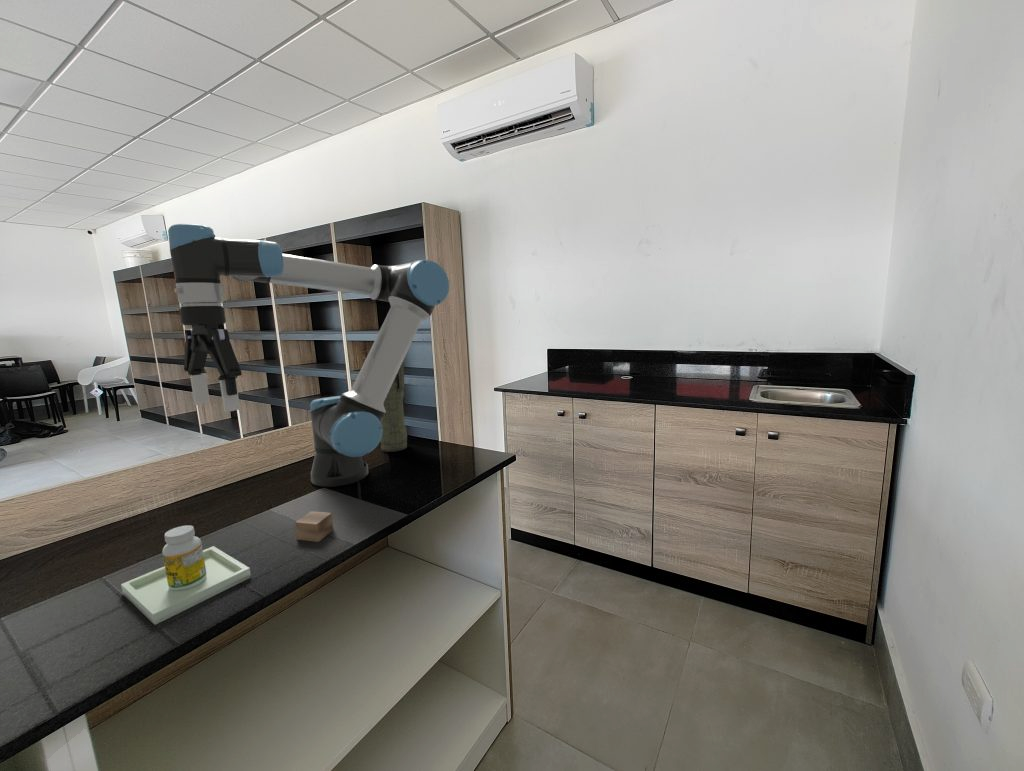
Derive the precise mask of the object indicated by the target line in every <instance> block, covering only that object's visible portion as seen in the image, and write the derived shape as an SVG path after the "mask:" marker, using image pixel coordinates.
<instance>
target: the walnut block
mask: <svg viewBox="0 0 1024 771" xmlns="http://www.w3.org/2000/svg"><path fill="white" fill-rule="evenodd" d="M294 524H295V532H296V533H295V534H296V540H297V541H304V542H305V541H306V542H307V541H308V542H316V543H319V542H320V541H321V540H323V539H324V538H325V537H326V536H328V534H330V533H331V532H333V531H334V525H333V513H332V512H325V511H313V510H311V511H309V512H308V513H307V514H305V515H304V516H302V517H300V518H299V519H298V520H296V521H295V522H294Z"/></svg>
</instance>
